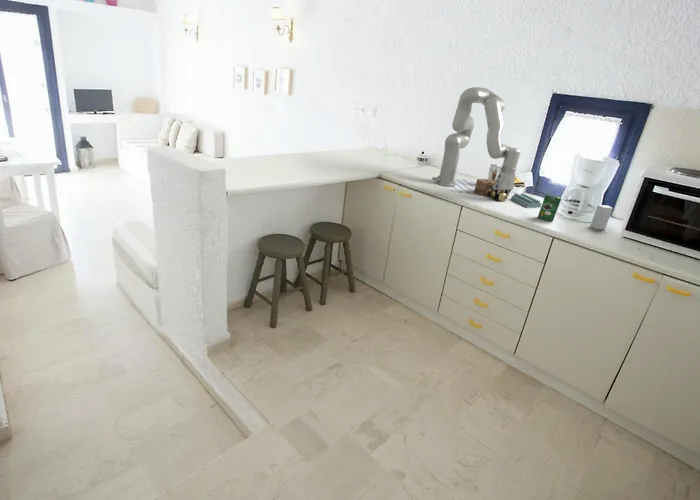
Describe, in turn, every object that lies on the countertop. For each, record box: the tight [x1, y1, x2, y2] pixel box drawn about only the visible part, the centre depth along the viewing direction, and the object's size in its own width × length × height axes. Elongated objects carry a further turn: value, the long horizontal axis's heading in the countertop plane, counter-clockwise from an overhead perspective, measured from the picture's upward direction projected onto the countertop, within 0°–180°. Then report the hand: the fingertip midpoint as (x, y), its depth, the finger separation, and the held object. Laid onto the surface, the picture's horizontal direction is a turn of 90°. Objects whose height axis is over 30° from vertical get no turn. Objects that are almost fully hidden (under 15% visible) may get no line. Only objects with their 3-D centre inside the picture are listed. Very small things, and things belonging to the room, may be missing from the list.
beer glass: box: [487, 163, 502, 180], centre depth 265 cm, size 7×7×15 cm
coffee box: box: [537, 193, 562, 222], centre depth 217 cm, size 8×3×13 cm, turn 62°
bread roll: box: [487, 186, 508, 203], centre depth 247 cm, size 16×5×5 cm, turn 20°
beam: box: [473, 178, 511, 197], centre depth 253 cm, size 20×8×8 cm, turn 110°
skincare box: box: [589, 204, 614, 230], centre depth 214 cm, size 6×4×12 cm
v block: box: [510, 192, 543, 209], centre depth 242 cm, size 10×14×4 cm
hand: (499, 199), depth 243 cm, fingers closed on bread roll, 5 cm apart
